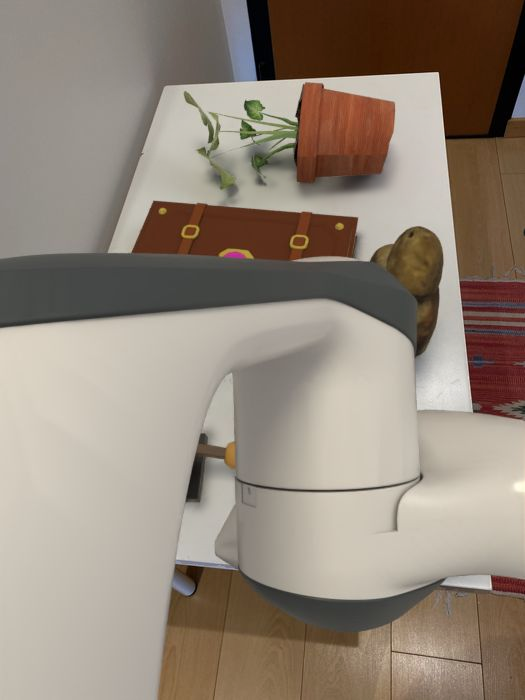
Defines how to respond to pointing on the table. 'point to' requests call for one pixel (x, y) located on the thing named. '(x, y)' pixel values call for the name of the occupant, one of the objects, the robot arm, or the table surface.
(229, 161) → the table surface
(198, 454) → the lever
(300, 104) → the potted plant
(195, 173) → the table surface
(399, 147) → the table surface
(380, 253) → the brown lumpy potato
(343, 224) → the book
